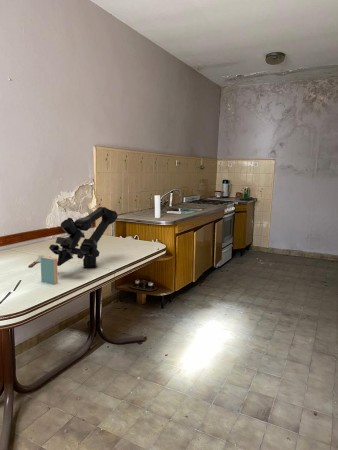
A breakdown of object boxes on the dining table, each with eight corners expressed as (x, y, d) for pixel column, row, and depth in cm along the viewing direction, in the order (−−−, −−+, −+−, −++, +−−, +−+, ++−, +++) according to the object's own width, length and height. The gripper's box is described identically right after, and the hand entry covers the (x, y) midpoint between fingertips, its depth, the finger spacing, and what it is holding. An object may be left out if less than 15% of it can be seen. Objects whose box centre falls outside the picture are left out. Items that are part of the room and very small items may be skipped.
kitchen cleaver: (42, 266, 178) (24, 265, 177) (42, 268, 178) (24, 267, 177) (56, 256, 202) (39, 255, 201) (55, 257, 202) (39, 256, 201)
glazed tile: (45, 280, 158) (44, 256, 156) (57, 282, 155) (57, 258, 153) (41, 281, 156) (40, 257, 154) (53, 284, 153) (53, 259, 151)
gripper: (51, 228, 165) (34, 254, 157) (79, 232, 157) (63, 259, 149) (62, 241, 174) (47, 266, 166) (90, 245, 166) (75, 271, 158)
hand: (58, 265), depth 159 cm, fingers closed
